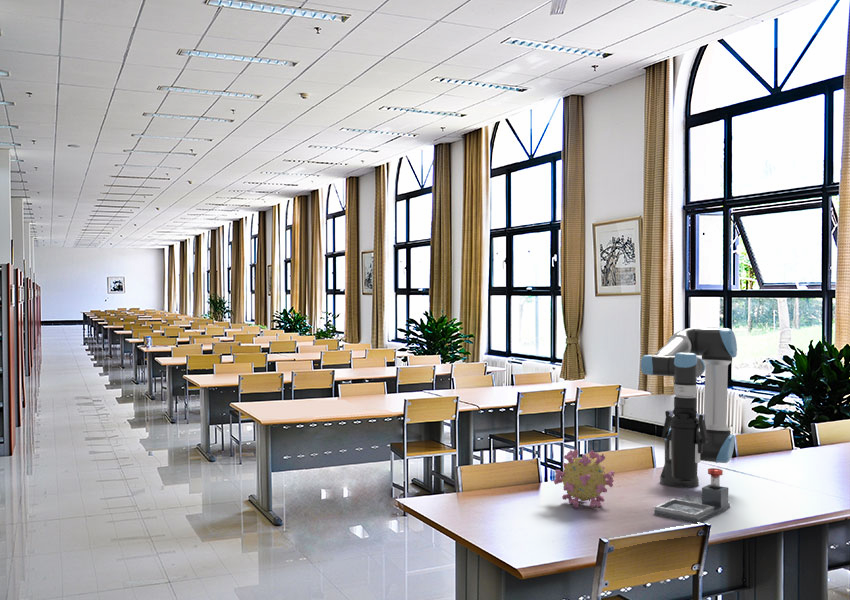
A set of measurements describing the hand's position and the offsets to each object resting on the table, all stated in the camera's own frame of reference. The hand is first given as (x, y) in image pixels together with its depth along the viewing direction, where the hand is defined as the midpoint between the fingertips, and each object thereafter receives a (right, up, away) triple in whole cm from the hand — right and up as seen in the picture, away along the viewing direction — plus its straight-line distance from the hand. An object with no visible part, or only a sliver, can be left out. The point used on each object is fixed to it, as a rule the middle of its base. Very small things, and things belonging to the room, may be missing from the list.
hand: (684, 460), depth 271 cm
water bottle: (0, -6, 0) cm, 6 cm away
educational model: (-33, -19, +10) cm, 40 cm away
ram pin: (+14, -13, +8) cm, 21 cm away
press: (+4, -19, +4) cm, 20 cm away
